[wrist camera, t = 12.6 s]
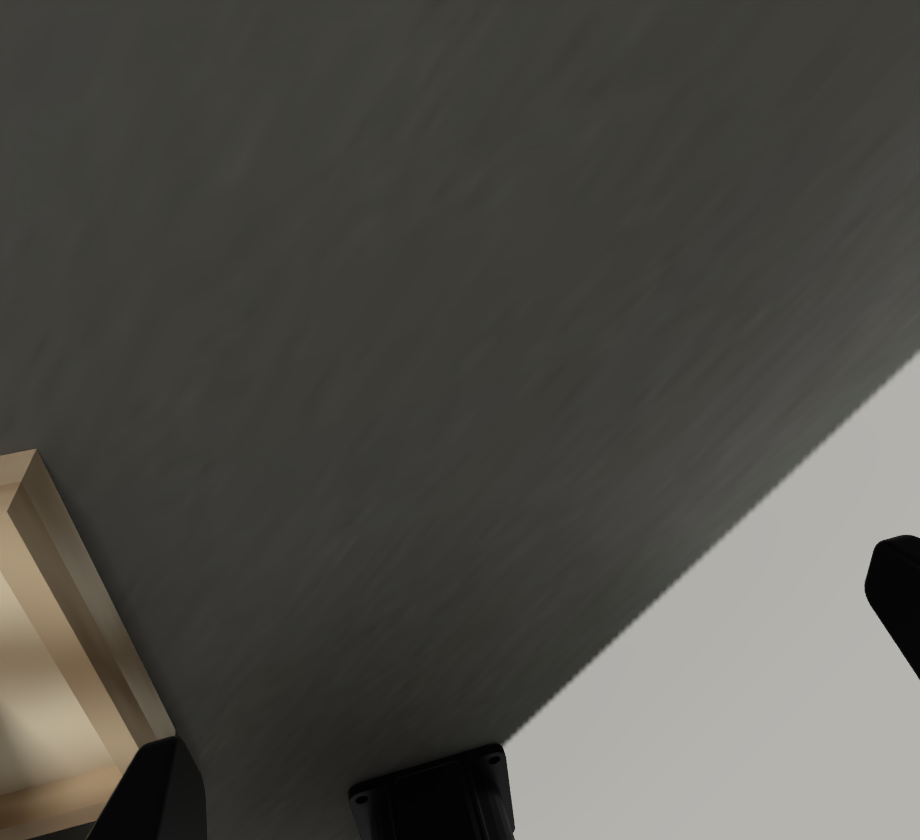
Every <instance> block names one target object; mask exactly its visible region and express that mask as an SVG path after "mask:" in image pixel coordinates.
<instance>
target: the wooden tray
mask: <svg viewBox="0 0 920 840" xmlns="http://www.w3.org/2000/svg"><path fill="white" fill-rule="evenodd" d="M175 733H176V730H175V728H174V726H173V724H172V722H171V720H170V718H169V716H168V714H167V712H166V710H165V708H164V706H163V704H162V702H161V700H160V698H159V696H158V694H157V692H156V690H155V688H154V686H153V684H152V682H151V680H150V678H149V676H148V673H147V671H146V669H145V667H144V665H143V663H142V661H141V659H140V657H139V655H138V653H137V651H136V649H135V647H134V645H133V643H132V641H131V639H130V637H129V635H128V633H127V631H126V629H125V627H124V625H123V623H122V621H121V619H120V617H119V615H118V613H117V611H116V609H115V607H114V605H113V603H112V601H111V599H110V596H109V594H108V592H107V590H106V588H105V586H104V584H103V582H102V580H101V578H100V576H99V574H98V572H97V570H96V568H95V566H94V564H93V562H92V560H91V558H90V556H89V554H88V552H87V550H86V548H85V546H84V544H83V542H82V540H81V538H80V536H79V534H78V532H77V530H76V528H75V526H74V524H73V522H72V519H71V517H70V515H69V513H68V511H67V509H66V507H65V505H64V503H63V501H62V499H61V497H60V495H59V493H58V491H57V489H56V487H55V485H54V483H53V481H52V479H51V477H50V475H49V473H48V471H47V469H46V467H45V465H44V463H43V461H42V459H41V457H40V455H39V453H38V451H37V449H33V450H28V451H22V452H17V453H12V454H7V455H2V456H0V840H26V839H30V838H34V837H37V836H41V835H45V834H48V833H52V832H56V831H59V830H63V829H67V828H71V827H74V826H78V825H82V824H85V823H89V822H93V821H96V820H97V818H98V817H99V815H100V813H101V812H102V810H103V808H104V806H105V805H106V803H107V801H108V800H109V798H110V796H111V795H112V793H113V791H114V789H115V788H116V786H117V784H118V783H119V781H120V779H121V778H122V776H123V774H124V772H125V771H126V769H127V767H128V766H129V764H130V762H131V761H132V759H133V757H134V755H135V754H136V752H137V751H138V750H139V749H140V748H141V747H142V746H143V745H144V744H146V743H149V742H152V741H156V740H160V739H163V738H167V737H170V736H175Z"/></svg>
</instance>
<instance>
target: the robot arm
mask: <svg viewBox="0 0 920 840" xmlns="http://www.w3.org/2000/svg"><path fill="white" fill-rule="evenodd" d="M865 593H866V597H867V599H868V601H869V603H870V605H871V607H872V608H873V610H874V611H875V612H876V614H877V615H878V617H879V619H880V620H881V622H882V623H883V625H884V626H885V628H886V629H887V631H888V632H889V634H890V635H891V636H892V638H893V640H894V641H895V643H896V644H897V646H898V647H899V649H900V650H901V652H902V653H903V655H904V657H905V658H906V659H907V661H908V663H909V664H910V666H911V667H912V668H913V670H914V672H915V673H916V674H917V676H918V678H919V679H920V538H918V537H915V536H911V535H901V536H897V537H894V538H890V539H886V540H883V541H880V542H879V543H878V544H877V545H876V546H875V548H874V551H873V555H872V558H871V562H870V566H869V569H868V573H867V577H866V580H865ZM348 797H349V804H350V807H351V810H352V813H353V816H354V819H355V821H356V824H357V827H358V830H359V833H360V836H361V839H362V840H515V839H514V836H513V832H514V830H515V825H514V817H513V809H512V801H511V795H510V786H509V778H508V770H507V763H506V756H505V753H504V750H503V747H502V746H501V745H500V744H490V745H487V746H484V747H480V748H477V749H473V750H470V751H467V752H463V753H460V754H457V755H453V756H450V757H446V758H443V759H440V760H436V761H433V762H430V763H426V764H423V765H419V766H416V767H413V768H409V769H406V770H402V771H399V772H396V773H392V774H389V775H386V776H382V777H379V778H375V779H372V780H369V781H365V782H362V783H359V784H356V785H354V786H352V787H351V788H350V789H349V791H348ZM85 840H207V820H206V797H205V788H204V783H203V779H202V776H201V773H200V771H199V770H198V768H197V766H196V764H195V762H194V760H193V758H192V756H191V754H190V752H189V751H188V749H187V747H186V745H185V743H184V741H183V740H182V739H181V738H180V737H178V736H170V737H167V738H163V739H160V740H156V741H152V742H149V743H146V744H144V745H143V746H142V747H141V748H140V749H139V750H138V751H137V752H136V754H135V755H134V757H133V759H132V761H131V762H130V764H129V766H128V767H127V769H126V771H125V772H124V774H123V776H122V778H121V779H120V781H119V783H118V784H117V786H116V788H115V789H114V791H113V793H112V795H111V796H110V798H109V800H108V801H107V803H106V805H105V806H104V808H103V810H102V812H101V813H100V815H99V817H98V818H97V820H96V822H95V823H94V825H93V827H92V829H91V830H90V832H89V834H88V835H87V837H86V839H85Z"/></svg>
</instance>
